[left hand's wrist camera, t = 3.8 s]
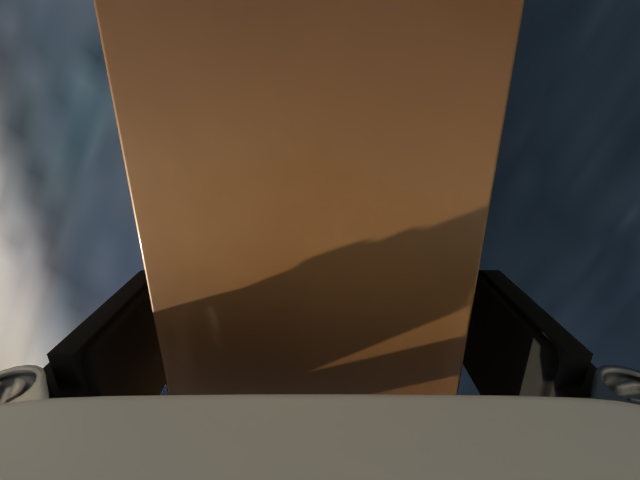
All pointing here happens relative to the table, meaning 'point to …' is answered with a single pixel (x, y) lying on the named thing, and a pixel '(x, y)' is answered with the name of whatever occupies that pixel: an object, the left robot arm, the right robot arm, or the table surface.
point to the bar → (310, 184)
